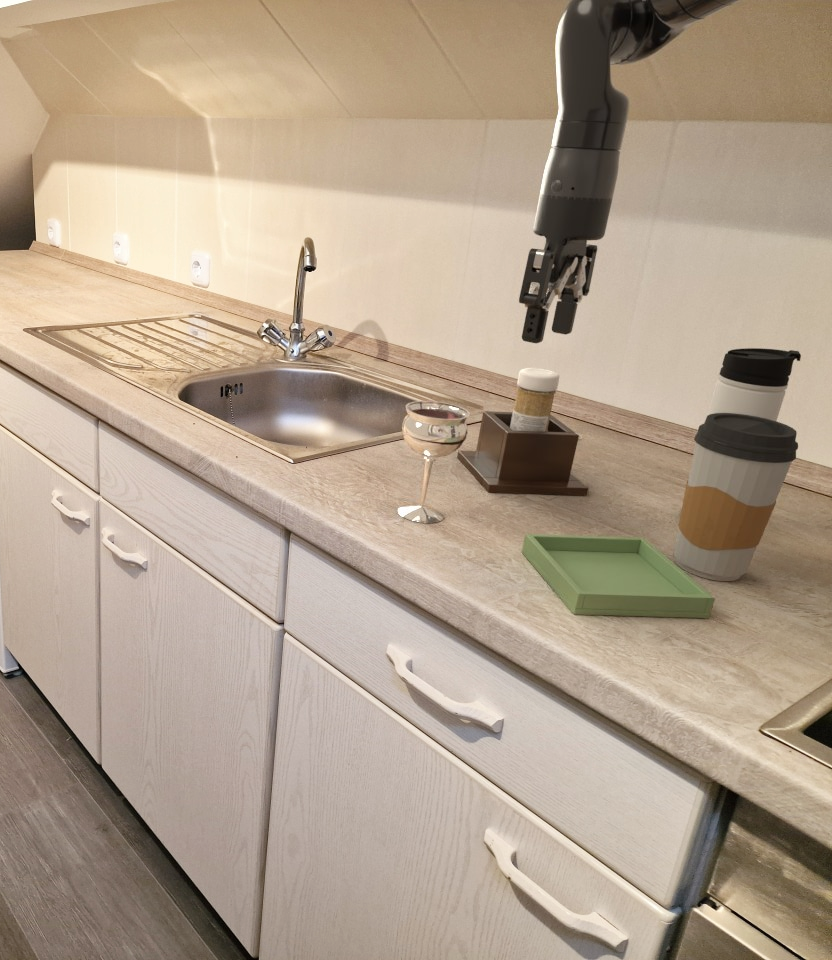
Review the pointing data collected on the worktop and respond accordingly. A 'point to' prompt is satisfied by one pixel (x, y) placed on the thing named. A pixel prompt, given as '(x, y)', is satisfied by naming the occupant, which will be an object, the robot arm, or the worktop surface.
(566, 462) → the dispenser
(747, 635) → the worktop surface
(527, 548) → the tray
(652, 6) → the robot arm
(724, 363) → the travel mug
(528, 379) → the sprinkles bottle
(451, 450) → the wineglass
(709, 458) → the coffee cup
